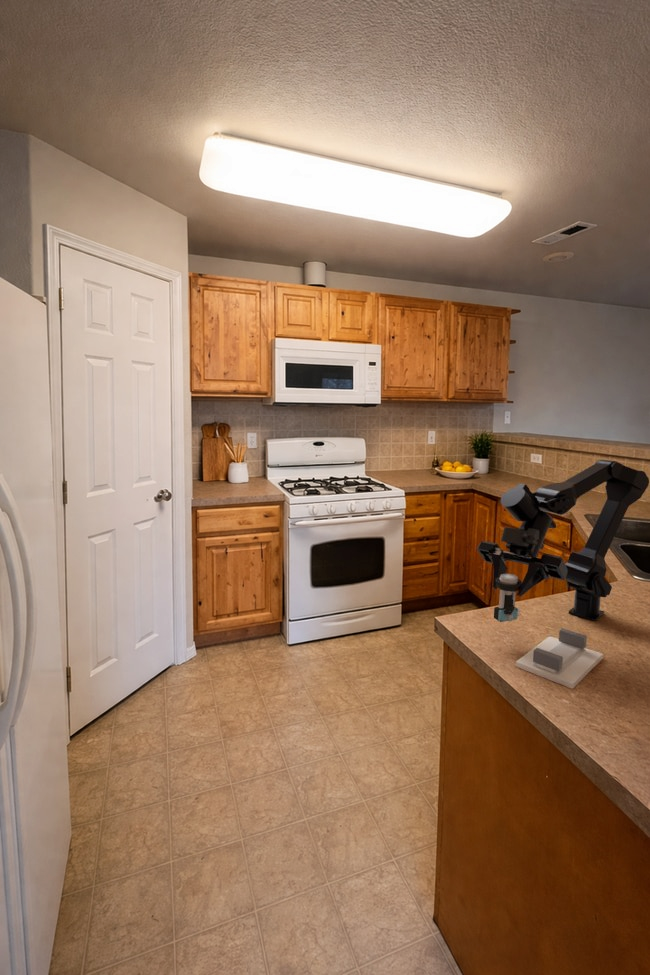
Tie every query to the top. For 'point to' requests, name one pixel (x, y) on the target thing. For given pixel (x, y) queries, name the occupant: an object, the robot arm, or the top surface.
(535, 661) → the rail board
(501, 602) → the push button
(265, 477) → the top surface
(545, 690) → the top surface
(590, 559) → the robot arm
